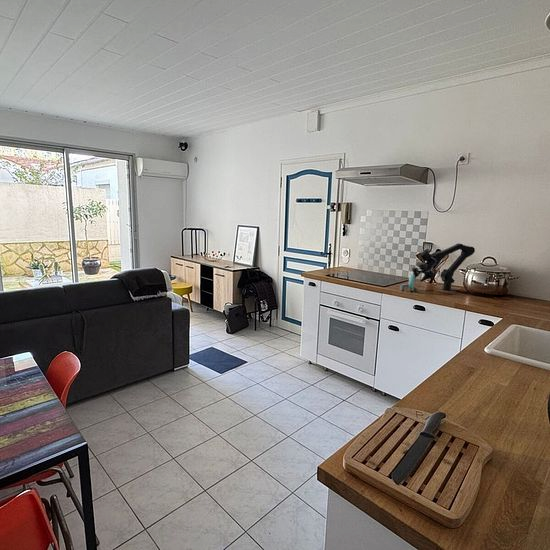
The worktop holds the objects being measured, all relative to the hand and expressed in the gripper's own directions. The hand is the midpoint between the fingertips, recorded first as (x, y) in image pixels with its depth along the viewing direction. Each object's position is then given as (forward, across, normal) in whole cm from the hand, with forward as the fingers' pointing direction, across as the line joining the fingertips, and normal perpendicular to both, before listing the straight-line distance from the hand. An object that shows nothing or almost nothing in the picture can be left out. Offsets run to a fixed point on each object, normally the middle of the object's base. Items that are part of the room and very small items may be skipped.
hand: (416, 280), depth 268 cm
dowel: (+9, 0, +2) cm, 9 cm away
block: (+9, 0, +2) cm, 9 cm away
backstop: (+10, -5, +2) cm, 11 cm away
